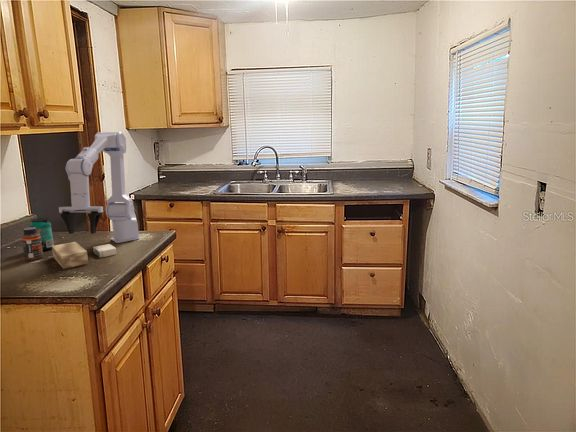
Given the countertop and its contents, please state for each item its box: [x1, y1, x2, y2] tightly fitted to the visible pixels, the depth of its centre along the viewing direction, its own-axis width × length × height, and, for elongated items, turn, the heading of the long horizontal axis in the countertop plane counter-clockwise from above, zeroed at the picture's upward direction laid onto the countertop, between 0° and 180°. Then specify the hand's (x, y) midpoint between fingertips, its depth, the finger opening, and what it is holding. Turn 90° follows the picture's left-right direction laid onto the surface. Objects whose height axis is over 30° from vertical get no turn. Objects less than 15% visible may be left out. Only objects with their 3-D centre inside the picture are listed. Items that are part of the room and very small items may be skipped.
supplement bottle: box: [21, 226, 44, 261], centre depth 158 cm, size 6×6×11 cm
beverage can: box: [29, 217, 55, 252], centre depth 168 cm, size 7×7×12 cm
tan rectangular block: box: [51, 241, 89, 270], centre depth 155 cm, size 8×16×4 cm, turn 39°
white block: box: [92, 243, 118, 258], centre depth 163 cm, size 6×8×2 cm
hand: (82, 233), depth 150 cm, fingers open, 7 cm apart
